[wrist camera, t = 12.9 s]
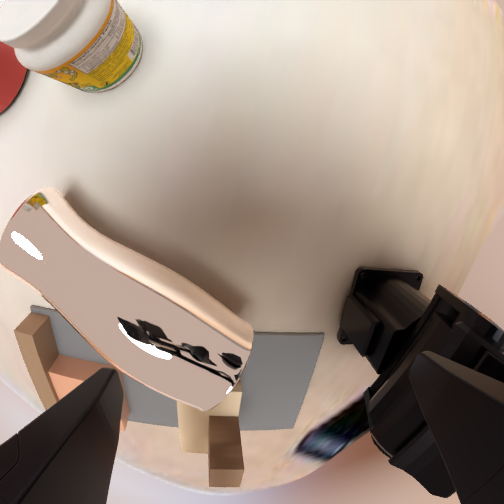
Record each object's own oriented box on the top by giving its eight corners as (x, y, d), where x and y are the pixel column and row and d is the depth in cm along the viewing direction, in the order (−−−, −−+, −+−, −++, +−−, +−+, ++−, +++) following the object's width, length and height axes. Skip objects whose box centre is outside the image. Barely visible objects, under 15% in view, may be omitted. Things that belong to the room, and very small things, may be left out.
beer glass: (70, 160, 14) (266, 303, 18) (56, 230, 18) (211, 340, 22) (-15, 226, 9) (239, 407, 12) (-1, 291, 13) (182, 418, 16)
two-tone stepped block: (239, 365, 21) (249, 448, 14) (230, 430, 24) (236, 499, 16) (179, 361, 20) (169, 444, 13) (182, 427, 23) (178, 496, 16)
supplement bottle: (160, 51, 14) (113, -30, 5) (99, 110, 15) (5, 81, 6) (114, 12, 12) (57, -59, 3) (59, 67, 13) (-28, 30, 4)
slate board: (323, 333, 21) (337, 358, 18) (292, 426, 25) (299, 450, 22) (31, 305, 18) (12, 325, 15) (63, 403, 22) (53, 425, 19)
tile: (119, 366, 20) (112, 386, 18) (130, 411, 22) (125, 431, 20) (59, 354, 19) (47, 371, 17) (74, 399, 21) (67, 417, 19)
